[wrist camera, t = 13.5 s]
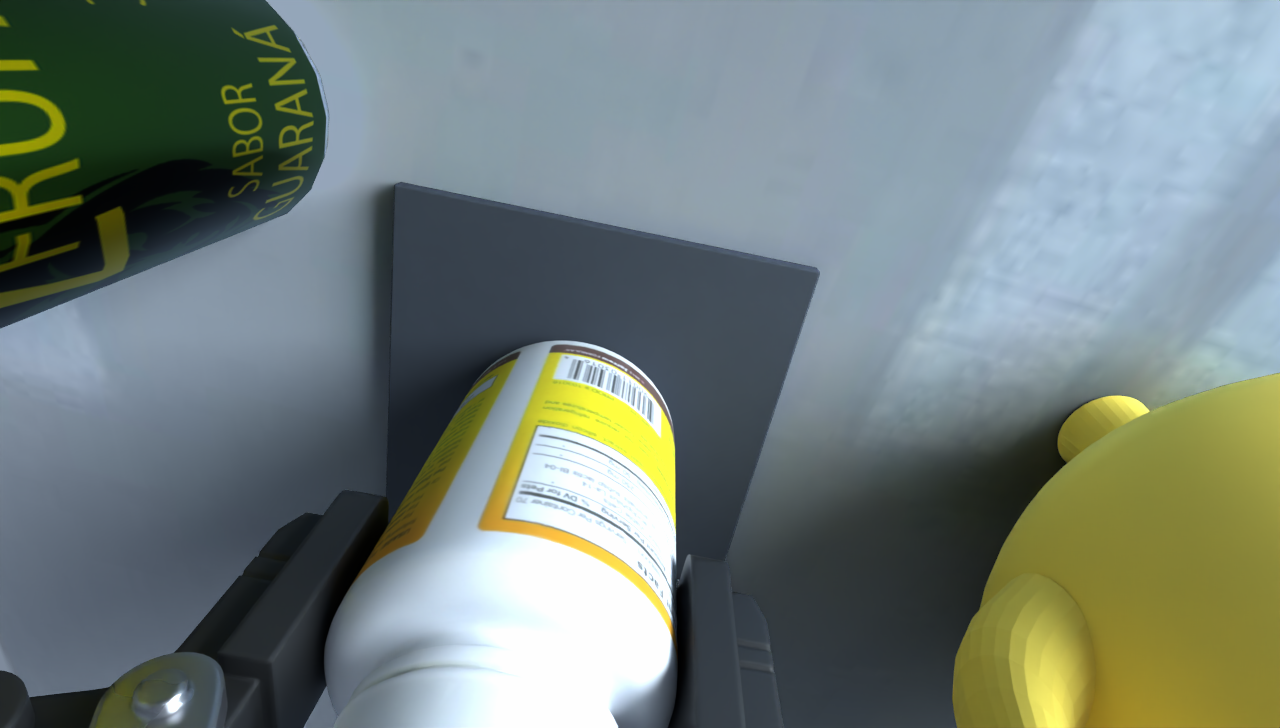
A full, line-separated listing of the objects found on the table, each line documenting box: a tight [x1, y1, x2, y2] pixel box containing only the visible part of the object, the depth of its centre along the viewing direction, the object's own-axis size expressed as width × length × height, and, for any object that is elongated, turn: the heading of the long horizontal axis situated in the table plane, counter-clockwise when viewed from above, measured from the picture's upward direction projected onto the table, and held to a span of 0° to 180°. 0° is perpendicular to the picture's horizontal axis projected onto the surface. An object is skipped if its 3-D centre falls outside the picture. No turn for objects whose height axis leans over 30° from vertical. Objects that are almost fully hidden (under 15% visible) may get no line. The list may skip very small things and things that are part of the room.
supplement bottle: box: [324, 341, 678, 728], centre depth 12 cm, size 6×6×10 cm
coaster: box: [386, 182, 820, 580], centre depth 17 cm, size 10×10×1 cm
